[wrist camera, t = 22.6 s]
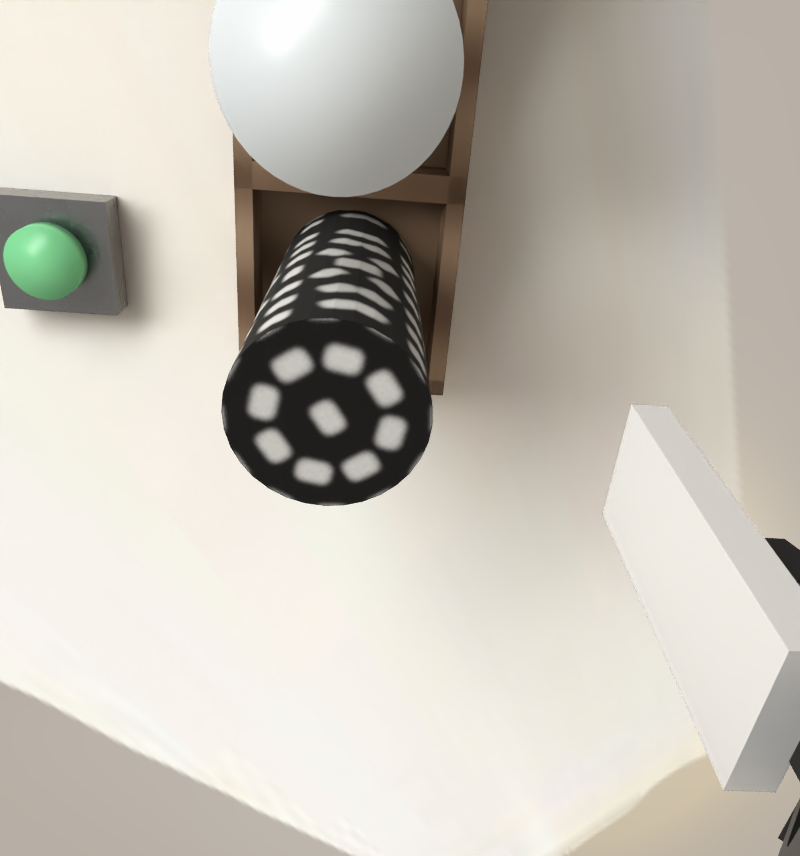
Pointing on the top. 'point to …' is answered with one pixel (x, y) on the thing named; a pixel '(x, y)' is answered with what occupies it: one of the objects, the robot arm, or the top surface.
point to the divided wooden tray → (374, 213)
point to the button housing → (92, 228)
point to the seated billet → (337, 86)
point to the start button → (45, 260)
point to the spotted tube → (333, 367)
